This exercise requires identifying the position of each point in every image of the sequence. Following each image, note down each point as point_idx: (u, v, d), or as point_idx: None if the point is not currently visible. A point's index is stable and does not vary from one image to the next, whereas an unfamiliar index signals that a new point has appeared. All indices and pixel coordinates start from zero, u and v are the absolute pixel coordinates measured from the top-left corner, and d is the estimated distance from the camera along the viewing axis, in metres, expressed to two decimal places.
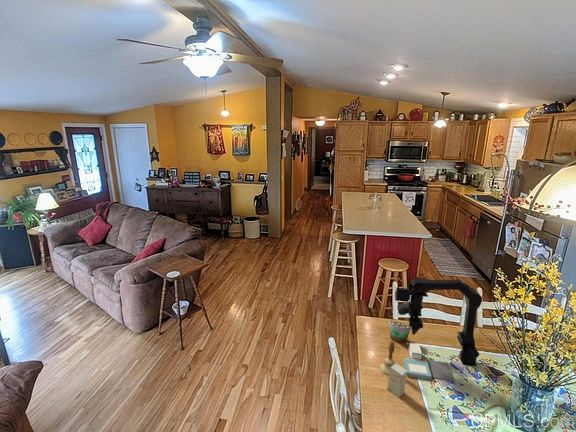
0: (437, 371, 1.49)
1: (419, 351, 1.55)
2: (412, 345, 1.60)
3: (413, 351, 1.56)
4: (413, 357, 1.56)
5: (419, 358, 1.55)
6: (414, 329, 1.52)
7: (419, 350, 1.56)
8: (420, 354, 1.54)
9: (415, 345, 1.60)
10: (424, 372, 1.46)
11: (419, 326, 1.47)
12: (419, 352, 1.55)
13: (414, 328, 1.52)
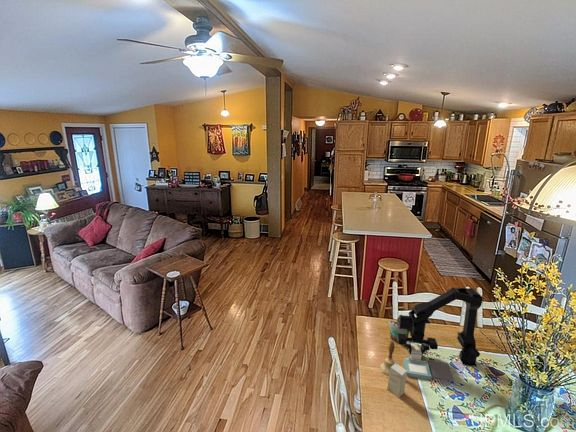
0: (437, 371, 1.49)
1: (419, 351, 1.55)
2: (412, 345, 1.60)
3: (413, 351, 1.55)
4: (413, 357, 1.56)
5: (419, 358, 1.55)
6: None
7: (419, 350, 1.56)
8: (420, 354, 1.54)
9: (415, 345, 1.60)
10: (424, 372, 1.46)
11: (398, 340, 1.57)
12: (419, 352, 1.55)
13: None
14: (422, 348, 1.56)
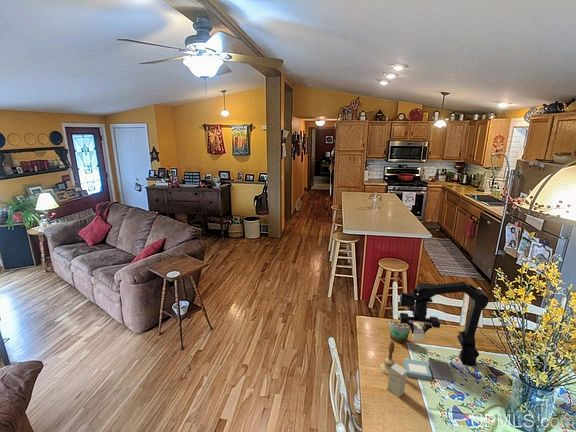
0: (437, 371, 1.49)
1: (421, 330, 1.56)
2: (414, 324, 1.60)
3: (415, 330, 1.56)
4: (415, 336, 1.56)
5: (421, 337, 1.55)
6: None
7: (421, 329, 1.57)
8: (422, 332, 1.55)
9: (418, 325, 1.60)
10: (424, 372, 1.46)
11: (400, 319, 1.58)
12: (421, 331, 1.55)
13: None
14: (424, 327, 1.56)
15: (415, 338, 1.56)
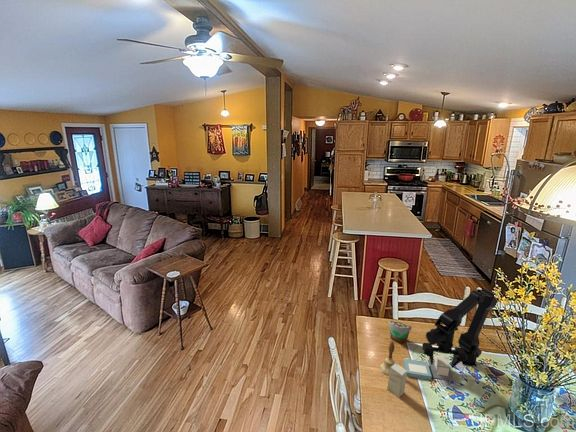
0: None
1: (446, 364, 1.46)
2: (438, 357, 1.51)
3: (440, 364, 1.46)
4: (440, 370, 1.47)
5: (447, 371, 1.46)
6: None
7: (446, 363, 1.47)
8: (448, 367, 1.45)
9: (442, 357, 1.50)
10: (424, 372, 1.46)
11: (424, 350, 1.48)
12: (447, 365, 1.46)
13: None
14: (455, 359, 1.46)
15: (439, 372, 1.47)
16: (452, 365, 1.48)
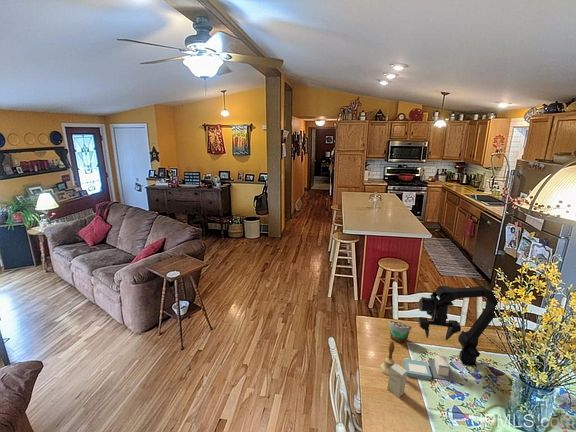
0: None
1: (446, 364, 1.46)
2: (438, 357, 1.51)
3: (440, 364, 1.46)
4: (440, 370, 1.47)
5: (447, 371, 1.46)
6: (425, 331, 1.55)
7: (446, 363, 1.47)
8: (448, 367, 1.45)
9: (442, 357, 1.50)
10: (424, 372, 1.46)
11: (419, 324, 1.53)
12: (447, 365, 1.46)
13: None
14: (449, 331, 1.52)
15: (439, 372, 1.47)
16: (446, 337, 1.53)
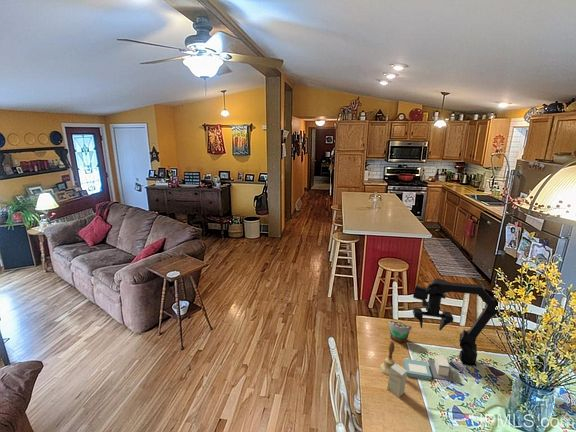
0: None
1: (446, 364, 1.46)
2: (438, 357, 1.51)
3: (440, 364, 1.46)
4: (440, 370, 1.47)
5: (447, 371, 1.46)
6: (419, 321, 1.63)
7: (446, 363, 1.47)
8: (448, 367, 1.45)
9: (442, 357, 1.50)
10: (424, 372, 1.46)
11: (414, 314, 1.61)
12: (447, 365, 1.46)
13: None
14: (442, 322, 1.59)
15: (439, 372, 1.47)
16: (440, 328, 1.61)
